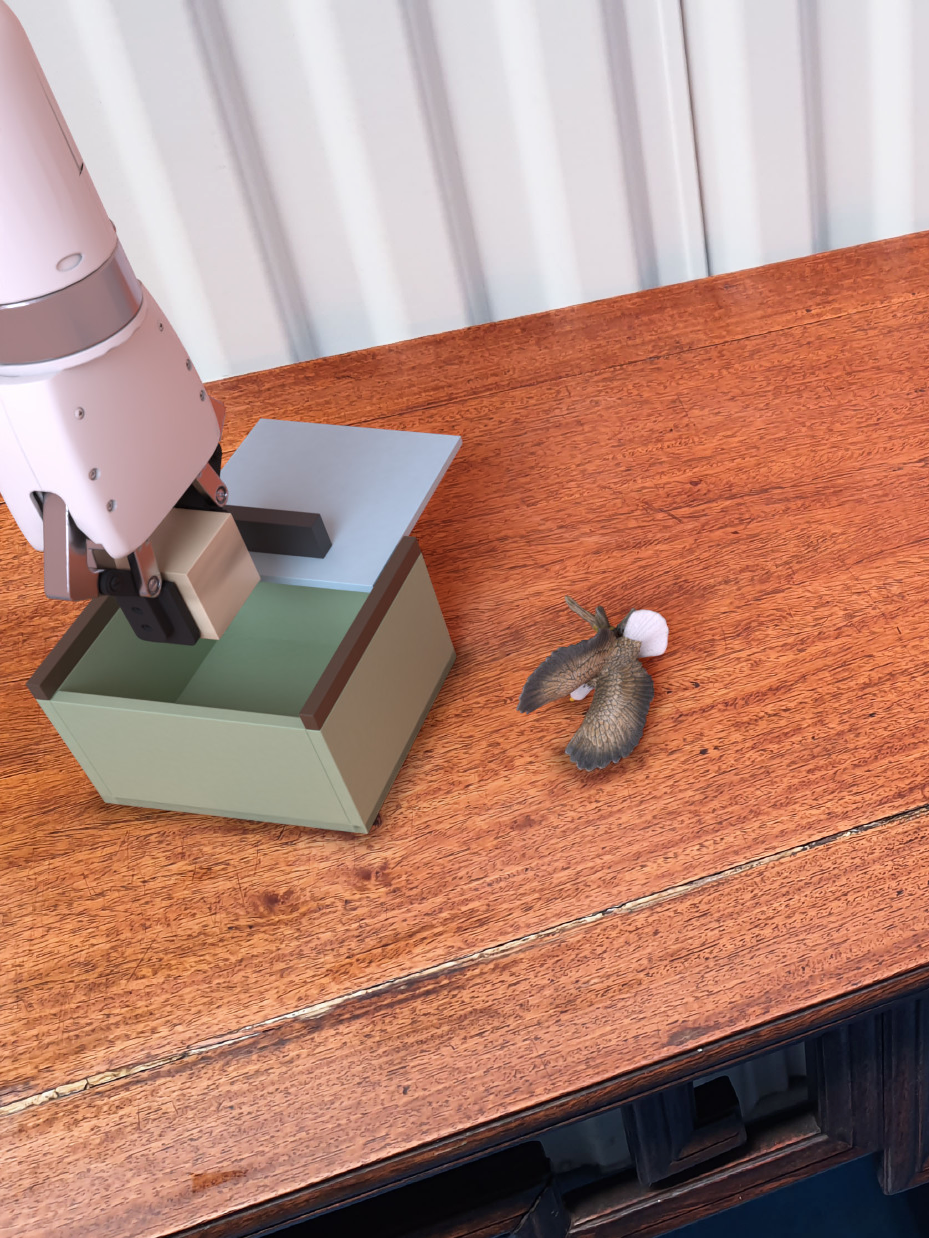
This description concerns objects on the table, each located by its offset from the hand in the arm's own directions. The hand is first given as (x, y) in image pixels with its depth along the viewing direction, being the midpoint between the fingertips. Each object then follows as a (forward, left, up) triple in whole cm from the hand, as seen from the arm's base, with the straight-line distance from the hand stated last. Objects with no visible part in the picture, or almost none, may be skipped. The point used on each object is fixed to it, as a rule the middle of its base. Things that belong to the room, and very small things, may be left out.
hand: (195, 599), depth 72 cm
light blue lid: (0, +12, -4) cm, 12 cm away
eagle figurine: (+18, +6, -13) cm, 23 cm away
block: (0, 0, 0) cm, 0 cm away
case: (0, +2, -12) cm, 13 cm away
